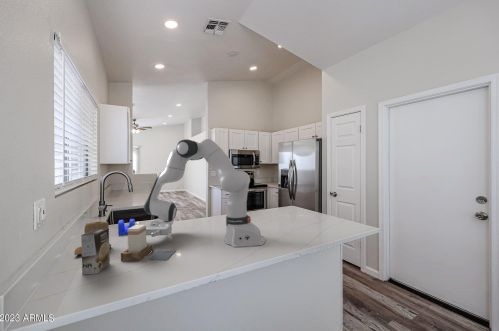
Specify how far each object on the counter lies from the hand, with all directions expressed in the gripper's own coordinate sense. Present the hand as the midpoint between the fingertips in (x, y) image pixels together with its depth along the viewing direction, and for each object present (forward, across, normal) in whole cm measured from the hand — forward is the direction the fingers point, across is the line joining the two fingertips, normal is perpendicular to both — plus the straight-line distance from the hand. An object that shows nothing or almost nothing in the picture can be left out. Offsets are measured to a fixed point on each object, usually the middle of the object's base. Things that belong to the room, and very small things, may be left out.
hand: (143, 235), depth 115 cm
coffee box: (+20, -10, +8) cm, 24 cm away
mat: (+6, +12, +8) cm, 16 cm away
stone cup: (0, -27, +8) cm, 28 cm away
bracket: (-34, -29, +8) cm, 46 cm away
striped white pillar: (+6, 0, +8) cm, 10 cm away
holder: (+6, 0, +8) cm, 10 cm away
